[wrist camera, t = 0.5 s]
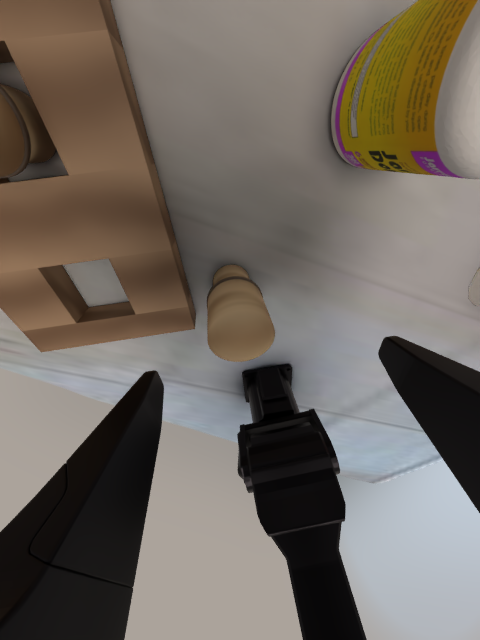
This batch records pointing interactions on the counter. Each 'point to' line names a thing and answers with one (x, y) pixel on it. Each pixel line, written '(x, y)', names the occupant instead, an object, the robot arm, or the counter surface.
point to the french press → (475, 289)
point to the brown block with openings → (80, 183)
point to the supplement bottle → (414, 94)
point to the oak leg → (237, 316)
